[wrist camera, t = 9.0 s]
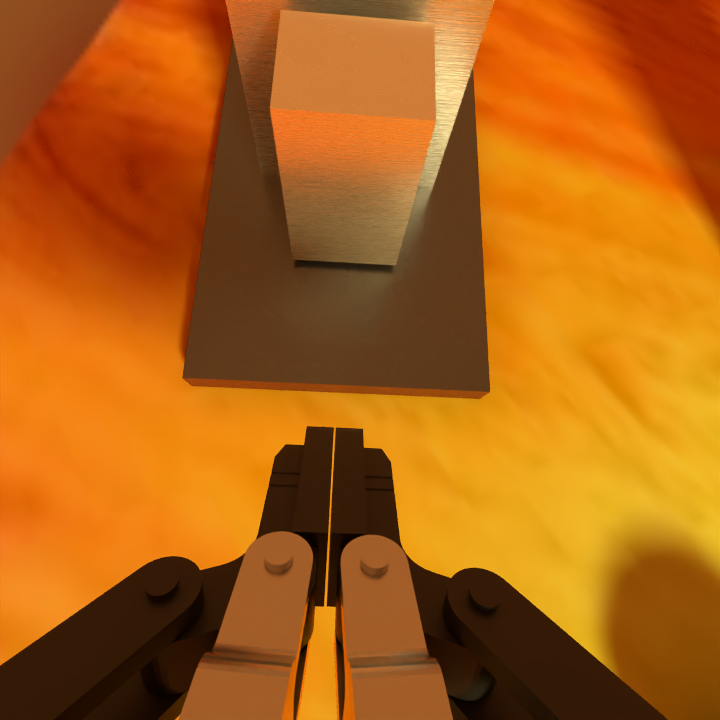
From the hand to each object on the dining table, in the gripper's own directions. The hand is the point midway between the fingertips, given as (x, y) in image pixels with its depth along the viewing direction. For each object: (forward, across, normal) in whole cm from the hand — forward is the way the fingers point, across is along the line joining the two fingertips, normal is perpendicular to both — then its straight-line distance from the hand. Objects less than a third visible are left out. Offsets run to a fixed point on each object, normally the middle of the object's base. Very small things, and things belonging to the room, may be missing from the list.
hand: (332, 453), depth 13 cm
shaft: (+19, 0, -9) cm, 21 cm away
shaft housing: (+18, 0, -5) cm, 19 cm away
